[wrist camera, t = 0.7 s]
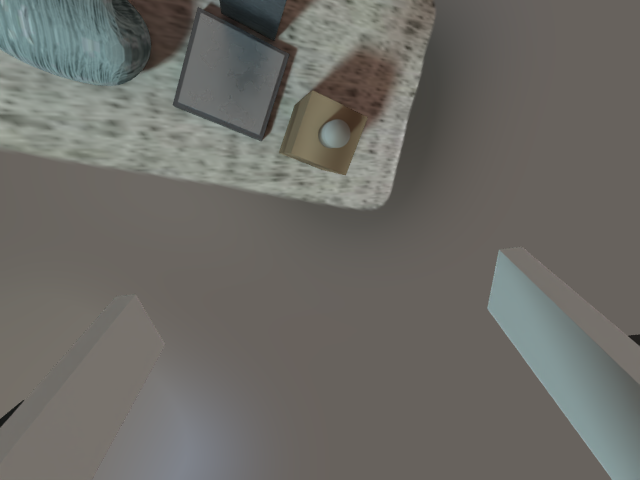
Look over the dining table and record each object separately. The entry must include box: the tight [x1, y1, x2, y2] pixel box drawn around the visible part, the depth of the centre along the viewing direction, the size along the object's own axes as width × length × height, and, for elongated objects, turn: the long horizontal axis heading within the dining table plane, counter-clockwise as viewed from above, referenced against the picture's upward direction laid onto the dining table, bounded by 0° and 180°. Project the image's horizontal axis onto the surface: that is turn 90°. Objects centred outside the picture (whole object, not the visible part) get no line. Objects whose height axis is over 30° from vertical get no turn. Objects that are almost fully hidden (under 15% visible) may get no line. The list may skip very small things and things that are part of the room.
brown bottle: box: [279, 90, 368, 175], centre depth 32 cm, size 6×6×12 cm
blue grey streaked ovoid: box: [0, 0, 151, 86], centre depth 26 cm, size 14×10×10 cm
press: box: [173, 0, 290, 141], centre depth 20 cm, size 10×14×29 cm
